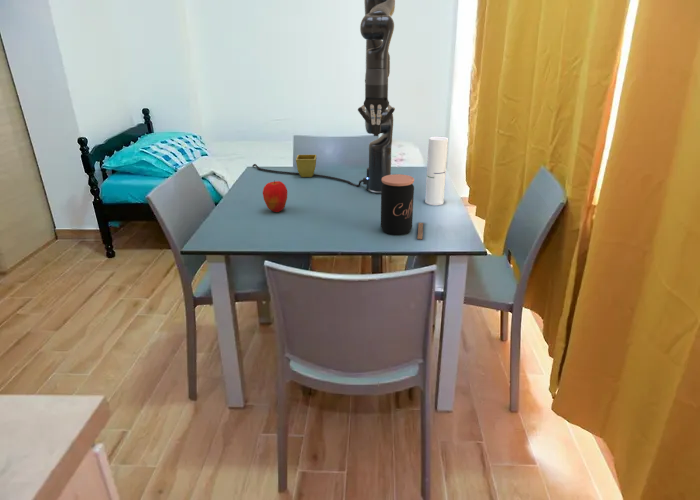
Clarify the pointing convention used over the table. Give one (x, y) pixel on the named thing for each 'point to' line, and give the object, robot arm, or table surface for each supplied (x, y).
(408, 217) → the coffee jar
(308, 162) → the flower pot
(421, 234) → the strip
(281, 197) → the apple
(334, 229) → the table surface
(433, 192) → the cylindrical container
